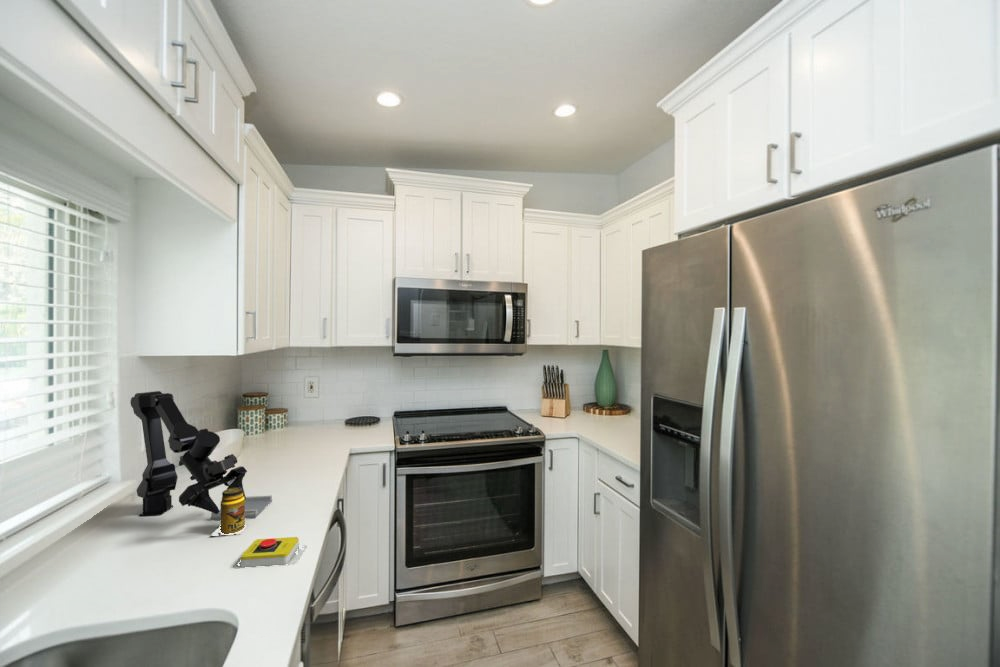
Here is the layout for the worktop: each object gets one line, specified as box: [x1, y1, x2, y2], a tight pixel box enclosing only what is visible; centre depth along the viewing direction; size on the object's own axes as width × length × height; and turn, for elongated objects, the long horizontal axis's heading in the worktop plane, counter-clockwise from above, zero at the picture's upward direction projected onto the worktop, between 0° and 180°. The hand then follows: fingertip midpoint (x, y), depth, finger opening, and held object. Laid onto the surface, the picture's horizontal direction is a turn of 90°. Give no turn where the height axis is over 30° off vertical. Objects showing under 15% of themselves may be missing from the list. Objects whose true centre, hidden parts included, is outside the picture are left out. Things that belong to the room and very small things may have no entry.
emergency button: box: [233, 536, 308, 569], centre depth 108 cm, size 9×4×15 cm
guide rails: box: [210, 494, 273, 518], centre depth 136 cm, size 13×12×1 cm
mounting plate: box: [210, 498, 273, 521], centre depth 136 cm, size 13×13×1 cm
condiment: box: [219, 487, 246, 534], centre depth 122 cm, size 7×8×12 cm
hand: (231, 506), depth 122 cm, fingers open, 9 cm apart
